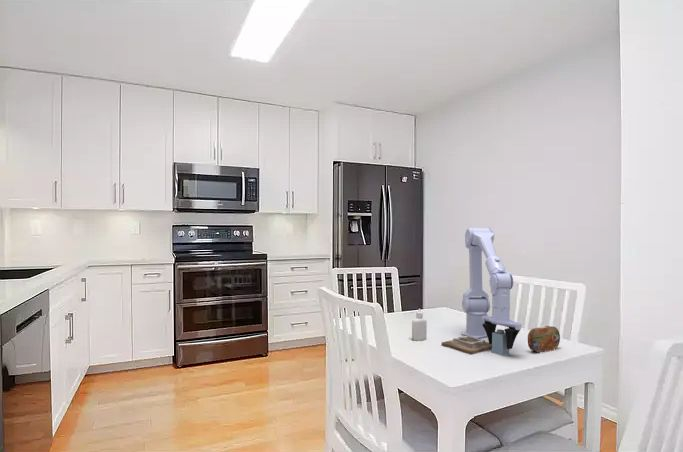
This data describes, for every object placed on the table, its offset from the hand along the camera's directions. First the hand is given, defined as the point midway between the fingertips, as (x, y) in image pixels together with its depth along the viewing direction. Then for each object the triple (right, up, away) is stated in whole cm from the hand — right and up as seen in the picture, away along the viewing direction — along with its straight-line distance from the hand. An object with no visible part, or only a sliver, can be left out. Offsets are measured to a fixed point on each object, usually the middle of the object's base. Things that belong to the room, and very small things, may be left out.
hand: (500, 346), depth 141 cm
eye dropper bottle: (-25, -2, +16) cm, 30 cm away
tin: (+17, -3, +4) cm, 18 cm away
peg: (0, -3, 0) cm, 2 cm away
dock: (-9, -2, +7) cm, 12 cm away
